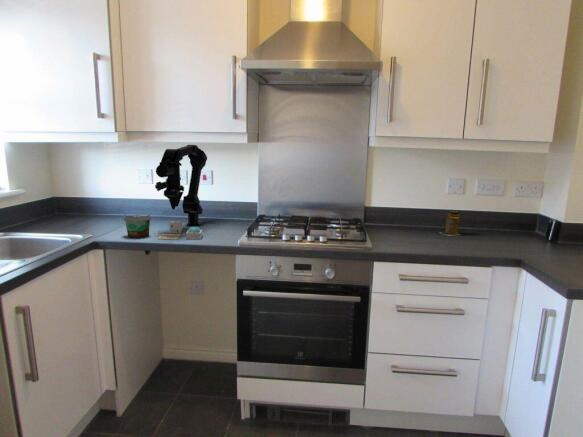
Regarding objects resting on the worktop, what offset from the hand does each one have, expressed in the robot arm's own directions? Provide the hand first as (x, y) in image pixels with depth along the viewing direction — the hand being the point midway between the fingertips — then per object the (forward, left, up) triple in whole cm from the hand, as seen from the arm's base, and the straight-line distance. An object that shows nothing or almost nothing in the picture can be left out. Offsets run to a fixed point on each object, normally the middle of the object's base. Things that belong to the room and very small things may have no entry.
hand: (175, 207), depth 180 cm
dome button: (+11, +11, -11) cm, 19 cm away
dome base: (+11, +11, -12) cm, 19 cm away
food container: (+9, -16, -12) cm, 22 cm away
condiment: (+4, +140, -12) cm, 141 cm away
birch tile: (+9, -1, -12) cm, 15 cm away
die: (0, 0, -12) cm, 12 cm away
